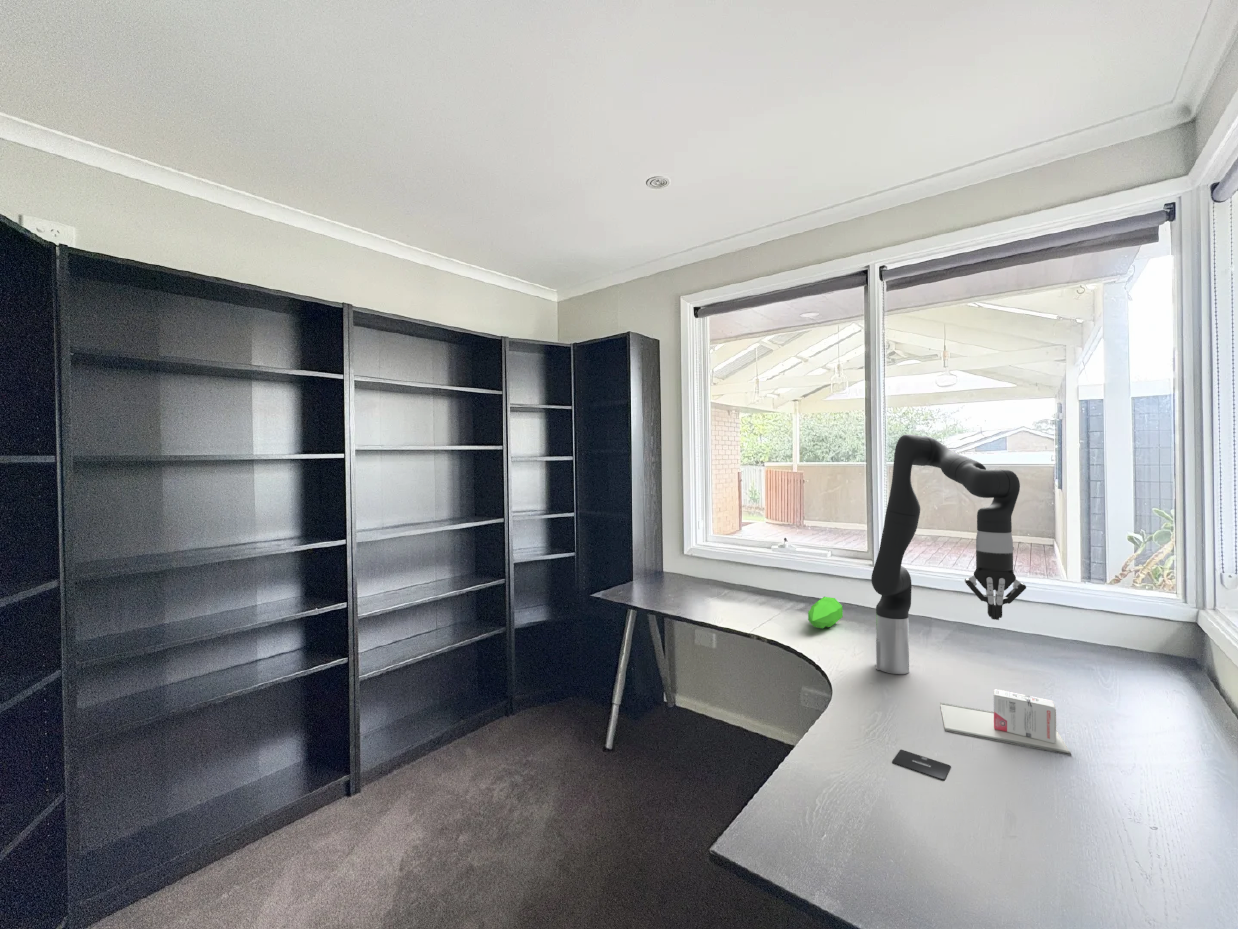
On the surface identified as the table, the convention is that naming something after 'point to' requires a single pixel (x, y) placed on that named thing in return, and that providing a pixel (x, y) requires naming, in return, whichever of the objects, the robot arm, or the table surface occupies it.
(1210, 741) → the table surface
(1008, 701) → the ink box
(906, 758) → the solid state drive
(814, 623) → the green faceted egg part
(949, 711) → the mat
